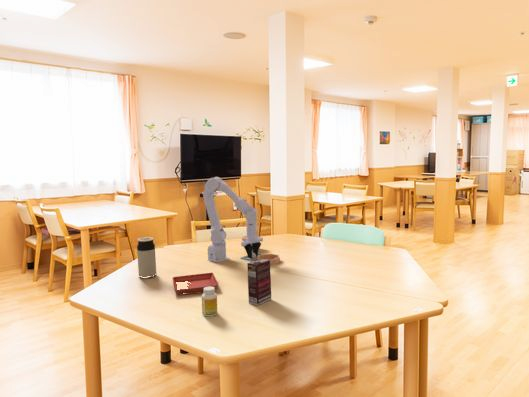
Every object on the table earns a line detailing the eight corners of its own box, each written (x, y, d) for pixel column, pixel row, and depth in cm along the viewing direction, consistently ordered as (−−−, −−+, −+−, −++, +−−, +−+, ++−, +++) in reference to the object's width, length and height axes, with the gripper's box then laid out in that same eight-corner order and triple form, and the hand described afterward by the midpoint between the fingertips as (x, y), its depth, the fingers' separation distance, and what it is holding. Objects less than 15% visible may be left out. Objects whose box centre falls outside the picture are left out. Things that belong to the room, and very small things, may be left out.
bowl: (270, 266, 201) (269, 260, 200) (253, 262, 208) (253, 257, 207) (283, 261, 209) (283, 256, 208) (267, 258, 216) (267, 252, 216)
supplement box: (262, 296, 160) (261, 257, 158) (271, 299, 157) (270, 259, 155) (247, 303, 153) (246, 262, 151) (257, 306, 150) (256, 264, 148)
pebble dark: (255, 257, 217) (255, 251, 216) (250, 256, 219) (250, 250, 218) (260, 256, 219) (260, 249, 219) (255, 255, 222) (255, 248, 221)
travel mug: (151, 279, 185) (149, 240, 183) (135, 278, 187) (133, 240, 184) (159, 274, 193) (157, 237, 191) (144, 273, 194) (141, 236, 192)
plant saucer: (174, 297, 162) (174, 289, 162) (172, 283, 179) (172, 276, 179) (219, 292, 167) (218, 284, 166) (213, 279, 184) (212, 272, 184)
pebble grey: (252, 260, 210) (252, 254, 210) (247, 259, 213) (247, 252, 212) (257, 259, 213) (257, 252, 213) (252, 258, 215) (252, 251, 215)
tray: (253, 262, 209) (252, 260, 209) (240, 259, 215) (240, 257, 215) (268, 257, 218) (268, 255, 218) (255, 254, 224) (255, 252, 224)
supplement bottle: (199, 314, 144) (198, 288, 143) (211, 309, 148) (210, 284, 147) (208, 318, 140) (207, 291, 139) (220, 313, 144) (219, 287, 143)
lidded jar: (239, 249, 237) (239, 233, 236) (256, 247, 241) (255, 231, 240) (246, 253, 227) (246, 237, 226) (263, 251, 231) (263, 235, 230)
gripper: (247, 235, 203) (248, 261, 205) (266, 230, 214) (267, 255, 216) (238, 233, 208) (238, 259, 209) (257, 228, 219) (257, 253, 220)
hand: (252, 257), depth 213 cm, fingers closed on pebble grey, 4 cm apart
